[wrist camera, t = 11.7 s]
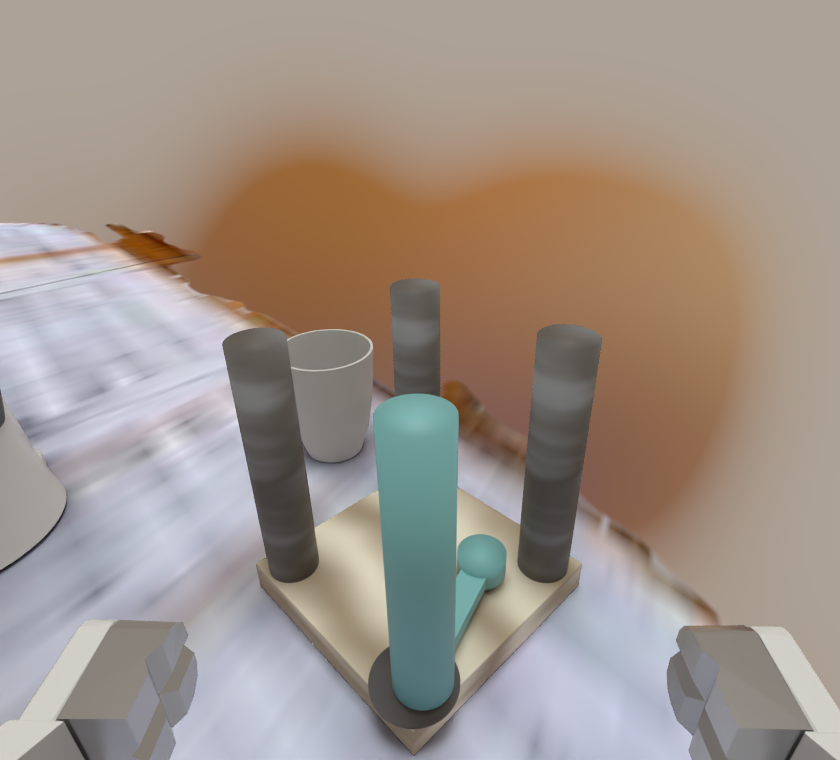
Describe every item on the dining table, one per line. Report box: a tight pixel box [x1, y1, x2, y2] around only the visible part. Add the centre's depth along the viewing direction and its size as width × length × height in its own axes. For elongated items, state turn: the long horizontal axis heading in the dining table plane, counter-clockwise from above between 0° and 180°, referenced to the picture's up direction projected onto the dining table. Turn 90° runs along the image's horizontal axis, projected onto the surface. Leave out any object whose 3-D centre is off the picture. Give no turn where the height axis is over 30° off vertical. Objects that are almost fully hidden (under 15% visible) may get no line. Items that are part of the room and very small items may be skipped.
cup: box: [287, 329, 373, 463], centre depth 49 cm, size 8×8×10 cm
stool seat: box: [222, 279, 602, 755], centre depth 32 cm, size 16×16×18 cm
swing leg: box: [373, 394, 507, 711], centre depth 28 cm, size 11×3×16 cm, turn 153°
